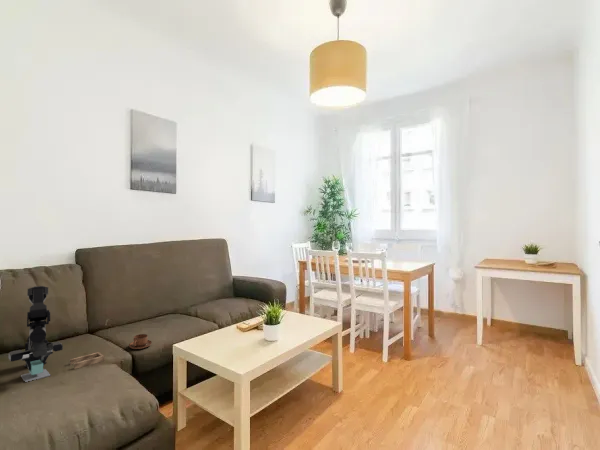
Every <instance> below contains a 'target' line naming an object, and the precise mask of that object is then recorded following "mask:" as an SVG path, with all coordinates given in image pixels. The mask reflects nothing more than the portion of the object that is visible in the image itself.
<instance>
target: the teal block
mask: <svg viewBox="0 0 600 450" xmlns="http://www.w3.org/2000/svg"><path fill="white" fill-rule="evenodd" d="M43 369H44V366H43V363H42V361H41V360H36V361H32V362H31V371H29V370H28V373H31V375H34V374H38V373H42V372H43Z"/></svg>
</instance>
